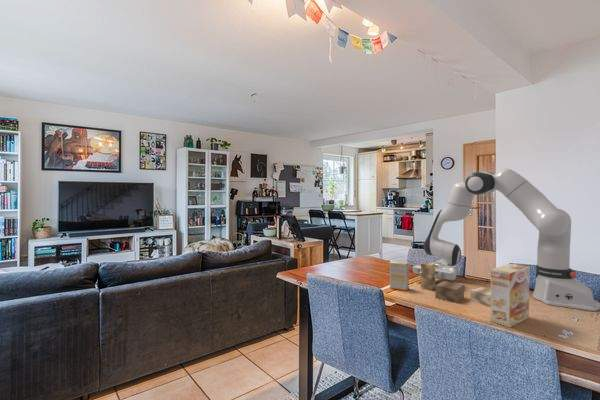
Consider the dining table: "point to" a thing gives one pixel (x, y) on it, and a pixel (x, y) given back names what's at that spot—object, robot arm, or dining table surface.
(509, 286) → the coffeecake box
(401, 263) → the supplement box
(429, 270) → the oak pillar
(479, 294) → the beech block
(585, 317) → the dining table surface
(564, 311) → the dining table surface
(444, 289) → the walnut block
